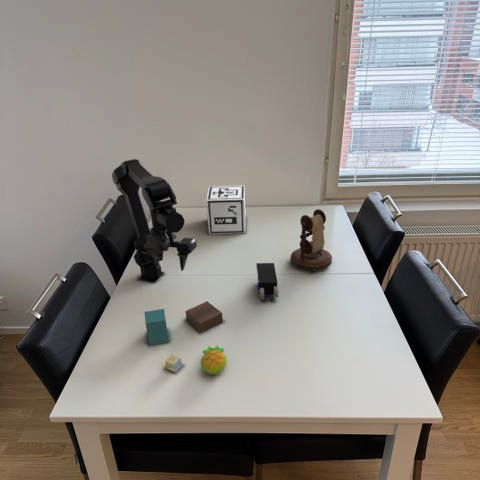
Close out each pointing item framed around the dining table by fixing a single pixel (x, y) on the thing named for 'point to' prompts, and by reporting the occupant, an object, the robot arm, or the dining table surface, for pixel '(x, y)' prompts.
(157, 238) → the robot arm
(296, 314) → the dining table surface
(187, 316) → the walnut base
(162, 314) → the teal block
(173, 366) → the alphabet block
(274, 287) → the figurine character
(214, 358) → the toy pineapple
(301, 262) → the brown upright piece
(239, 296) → the dining table surface
